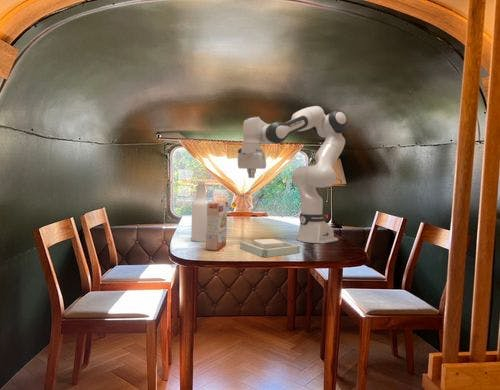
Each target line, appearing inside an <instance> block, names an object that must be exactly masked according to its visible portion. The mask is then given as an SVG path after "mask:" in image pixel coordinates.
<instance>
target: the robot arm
mask: <svg viewBox="0 0 500 390" xmlns="http://www.w3.org/2000/svg"><path fill="white" fill-rule="evenodd" d="M291 115H292V116H291V119H290V120H288V121H286V122H282V121H281V122H280V121H275V122H272V123H269V124H268V123H266V122H264V121H263V120H261V118H260V116H250V117H247V118H245V119H244V121H243V125H242V137H243V141H242V146H241V147H240V148H238V149H237V154H238V155H237V168H238V169H240V170H241V169H244V170H245V169H246V172H247V175H248V176H247V177H248V179H255V175H256V172H257V170H258V169H260V170H262V169H263V170H264V169H266V168H267V158H266V154H265V151H264V149H262V147H261V144H262V145H271V144H281V143H284V141H285V140H287V138H288V137H290V135H292V134H295V133H297V132H303V131H306V130H310V129H311V130H312V131H313V134H314V136H315V137H316V138H317V139H318V140H324V141H323V142H322V144H321V145H320V147H319V148H318V150H317V151H316V152H315V155H314V161H315V163H316V164H315V165H302V166H298V167H295V168H294V169H292V170H293V171H292V172H291V181H292V183H293V184H294V185H295V186H296V187H297V189H298V191H299V195H300V213H299V222H300V223H299V228H298V234H297V238H296V240H297V241H298V242H303V243H309V244H310V243H312V244H313V243H314V244H326V243H333V242H337V241H339V238H338V237H335V236H334V235H335V233H334V232H335V231H334V229H333V227H331V226H330V224H328V223H327V222H326V221H325V219H328V218H329V215H328V214H323V205H324V203H323V202H324V201H323V198H322V197H321V196H320V195H319V193H318V192H317V189H316V188H322V189H323V188H328V187H331V186H333V185H334V184H335V182H336V179H337V174H336V171H335V169H334V166H335V164H336V161H337V160H339V159H338V158H339V156H340V155H341V154H342V152H343V150H344V147H345V144H346V139H345V137H344V136H343V135H342V134H343V133H345V131H346V127H347V124H348V117H347V115H346V113H345V112H344V111H342V110H341V109H336V110H334V111H331V112H330V113H328V114H325V110H324V109H323V108H322V107H321V106H319V105H313V106H308V107H305V108H301V109H300V110H298V111H296V112H293V114H291Z"/></svg>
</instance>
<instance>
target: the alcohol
mask: <svg viewBox="0 0 500 390" xmlns="http://www.w3.org/2000/svg"><path fill="white" fill-rule="evenodd" d="M196 187H197V188H196V197H195V199H194V200H193V202H192V204H191V236H190V237H191V241H192V242H195V243H205V242H206V234H207V204H208V203H210V202H209V201H208V200H207V196H206V193H207V192H206V180H197V186H196Z"/></svg>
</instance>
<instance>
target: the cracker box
mask: <svg viewBox="0 0 500 390" xmlns="http://www.w3.org/2000/svg"><path fill="white" fill-rule="evenodd" d="M228 203H229V201H225V200H220V201H219V200H216V201H211V202H209V203H208V204H207V234H206V243H205V250H206V251H215V252H216V251H219V250H221V249H222V248H223V247H225V246H226V245H227V230H228V229H227V227H228V205H229V204H228Z"/></svg>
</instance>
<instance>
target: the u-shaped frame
mask: <svg viewBox="0 0 500 390" xmlns="http://www.w3.org/2000/svg"><path fill="white" fill-rule="evenodd" d="M274 239H275V240H277V241H280V242H283V243H284V247H280V248H271V249H263V248H260V247H257V246H254V245H253V244H251V243H248V242H245V241H240V243H239V249H240V248H241V249H240V250H243V251H245V250H246V252H248V253H251V254H254V255H256V256H259V257H262V258H264V259H265V258H270V257H278V256H288V255H294V254H300V251H301V247H300V245H297V244H293V243H291V242H288V241H284V240H280V239H276V238H274Z"/></svg>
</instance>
